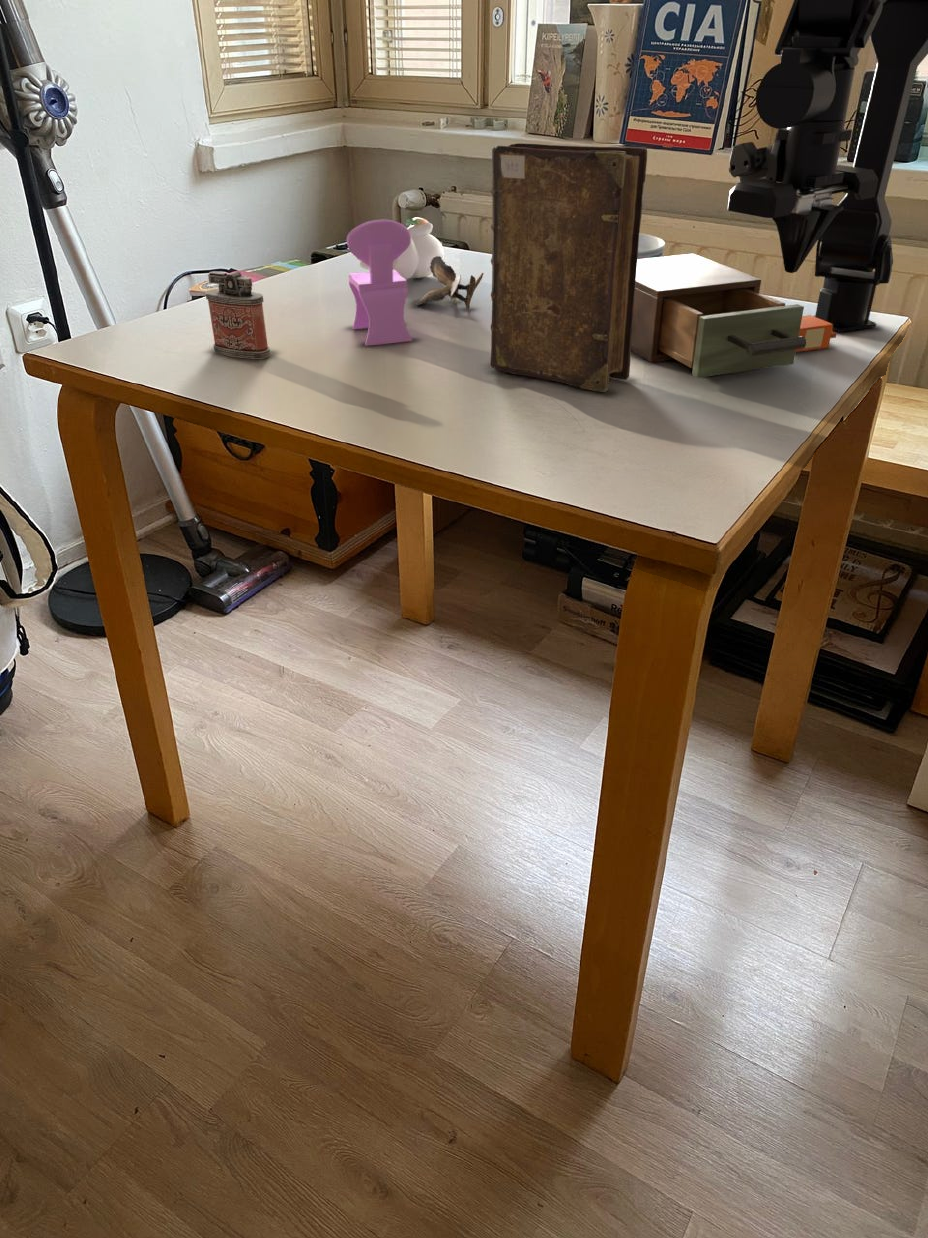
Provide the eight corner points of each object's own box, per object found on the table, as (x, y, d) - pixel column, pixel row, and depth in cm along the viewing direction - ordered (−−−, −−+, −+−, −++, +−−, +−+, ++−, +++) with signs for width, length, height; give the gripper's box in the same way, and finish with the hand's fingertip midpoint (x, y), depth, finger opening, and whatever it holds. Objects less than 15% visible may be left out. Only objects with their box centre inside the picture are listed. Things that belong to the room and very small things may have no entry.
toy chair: (402, 322, 132) (397, 207, 124) (419, 340, 125) (415, 219, 117) (344, 328, 130) (335, 211, 122) (358, 346, 123) (349, 224, 115)
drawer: (822, 377, 109) (834, 318, 105) (723, 392, 105) (732, 331, 101) (725, 331, 124) (732, 277, 121) (635, 342, 121) (640, 288, 117)
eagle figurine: (486, 292, 141) (433, 275, 143) (482, 257, 135) (427, 240, 137) (463, 330, 139) (410, 312, 141) (458, 297, 132) (402, 278, 135)
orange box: (766, 342, 123) (770, 319, 121) (810, 336, 125) (815, 313, 123) (788, 353, 119) (792, 329, 118) (834, 346, 121) (839, 323, 120)
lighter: (275, 352, 122) (265, 272, 116) (260, 360, 119) (249, 278, 114) (224, 345, 124) (212, 266, 119) (208, 352, 122) (195, 272, 116)
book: (483, 369, 115) (483, 142, 102) (515, 354, 120) (520, 135, 106) (603, 396, 107) (621, 153, 93) (632, 379, 112) (654, 145, 98)
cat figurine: (440, 209, 153) (362, 209, 144) (464, 243, 150) (386, 245, 142) (419, 257, 160) (344, 259, 152) (442, 290, 158) (366, 295, 149)
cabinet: (750, 348, 121) (761, 279, 116) (650, 362, 117) (658, 291, 112) (685, 316, 133) (693, 253, 129) (593, 328, 129) (597, 263, 124)
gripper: (808, 106, 109) (785, 247, 118) (698, 119, 100) (681, 271, 109) (894, 113, 102) (863, 264, 110) (784, 128, 93) (759, 291, 101)
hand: (790, 271), depth 108 cm, fingers closed
